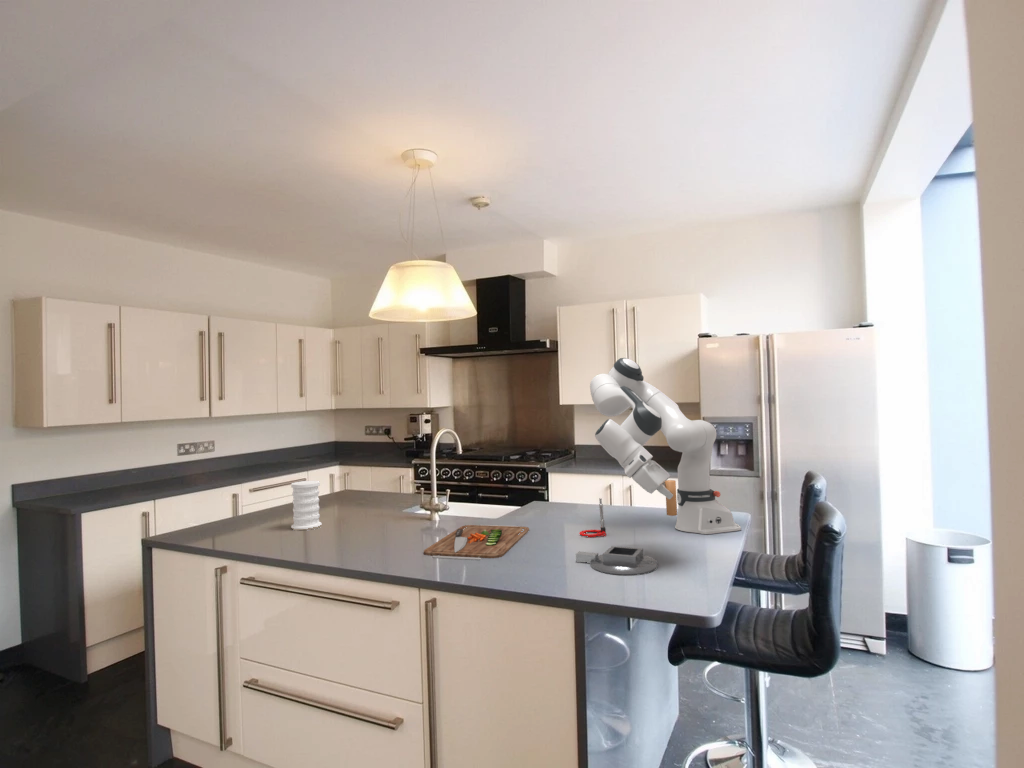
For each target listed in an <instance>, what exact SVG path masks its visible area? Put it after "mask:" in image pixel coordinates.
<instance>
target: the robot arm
mask: <svg viewBox="0 0 1024 768" xmlns="http://www.w3.org/2000/svg"><path fill="white" fill-rule="evenodd" d="M589 384H590V385H589V389H590V395H591V400H592V402H593V404H594V407H595V409H596V410H597V411H598V412H599V413H600V414H601V415H603V416H606V417H618V416H620V415H621V414H623V413H625V411H627V410H628V409H629V408H630V407H631V409H632V411H631V413H630V414H629V415H628V416H627V418H625V420H624V421H623V422H622V423H620V424H619V423H617V422H616V421H615V420H613V419H611V418H608V419H606V420H605V421H604V422H603V423H602V424H601V426H599V428H598V429H597V430H596V432H595V433H594V437H595V439H596V440H597V442H598V443H599V444H600V446H601V447H602V448H603V449H604V451H606V453H607V454H608V455H609V456H611V457H612V458H614V459H615V460H616V461H617V462H618V463H619V465H620V466H621V468H622V469H623V470H624V474H625V475H626V476H627V478H628V479H630V478H632V480H633V481H634V482H635V483H636V484H637V485H639V486H640V487H641V488H642V489H643V490H644V491H646V493H649V494H651V495H652V494H653V493H654V492H655V491H657V492H658V493H659V494H661V495H663V496H665V498H666V497H667V498H668V499H671V498H672V497H673V496H674V494H673V493H672V492H671V491H669V490H668V489H666V488H665V481H666V480H669V478H670V477H671V475H670V473H669V472H668V471H667V470H665V468H664V467H662V465H660V464H659V463H657V462H656V460H652V458H653V457H654V456H653V455H652V454H651V453H650V452H649V451H648V450H647V449H646V448H645V447H644V446H645V444H646V443H648V441H650V439H651V438H652V437H653V436H655V434H657V433H658V432H659V431H661V432H662V434H663V436H664V437H665V439H666V442H667V445H668V447H670V449H672V450H673V451H675V452H679V453H682V454H681V458H680V461H679V464H678V466H677V488H676V501H677V515H676V523H675V526H674V528H675V529H676V530H678V531H681V532H686V533H695V534H702V535H712V534H721V533H729V532H737V531H741V530H742V526H741V525H739V524H738V523H736V522H735V520H734V516H733V513H732V511H731V510H730V509H729V508H727V507H726V506H725V505H724V504H723V503H721V502H719V501H718V500H717V499H716V498H720V497H721V493H720V491H719V490H718V491H717V490H713V489H711V479H710V478H711V477H710V475H711V474H710V470H711V469H710V467H711V461H712V460H711V459H712V455H713V454H712V453H713V447H714V443H715V441H716V440H717V430H716V428H715V426H714V425H713V424H712V423H710V422H709V421H706V420H703V419H693V420H691V419H689V418H688V417H686V415H685V414H684V413H683V412H682V410H681V409H680V407H679V404H677V403H676V402H675V401H674V400H672V399H671V398H670V397H669V396H668V395H666V394H665V393H664V392H663V391H661V390H660V389H658V388H657V387H655V386H654V385H653V384H651V383H649V382H647V381H645V380H644V376H643V372H642V369H641V366H640V365H639V364H638V363H637V362H635V361H634V360H632V359H631V358H627V357H621V358H620V357H619V358H618V359H617V360H616V361H615V362H614V363H613V366H612V368H611V369H610V370H609V372H608V373H599V374H597V375H595V376H594V377H592V379H591V381H590V383H589Z"/></svg>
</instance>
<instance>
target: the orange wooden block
mask: <svg viewBox="0 0 1024 768" xmlns="http://www.w3.org/2000/svg"><path fill="white" fill-rule="evenodd" d="M676 482H677V481H676V480H673V479H667V480H666V481H665V488H666V489H668V490H669V491H671V492H672V493H673V494H674V496H673V497H672V498H671V499H668V498H667V497H666V496H665V506H666V516H670V517H673V516H674V517H677V516H678V502H677V483H676Z"/></svg>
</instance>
